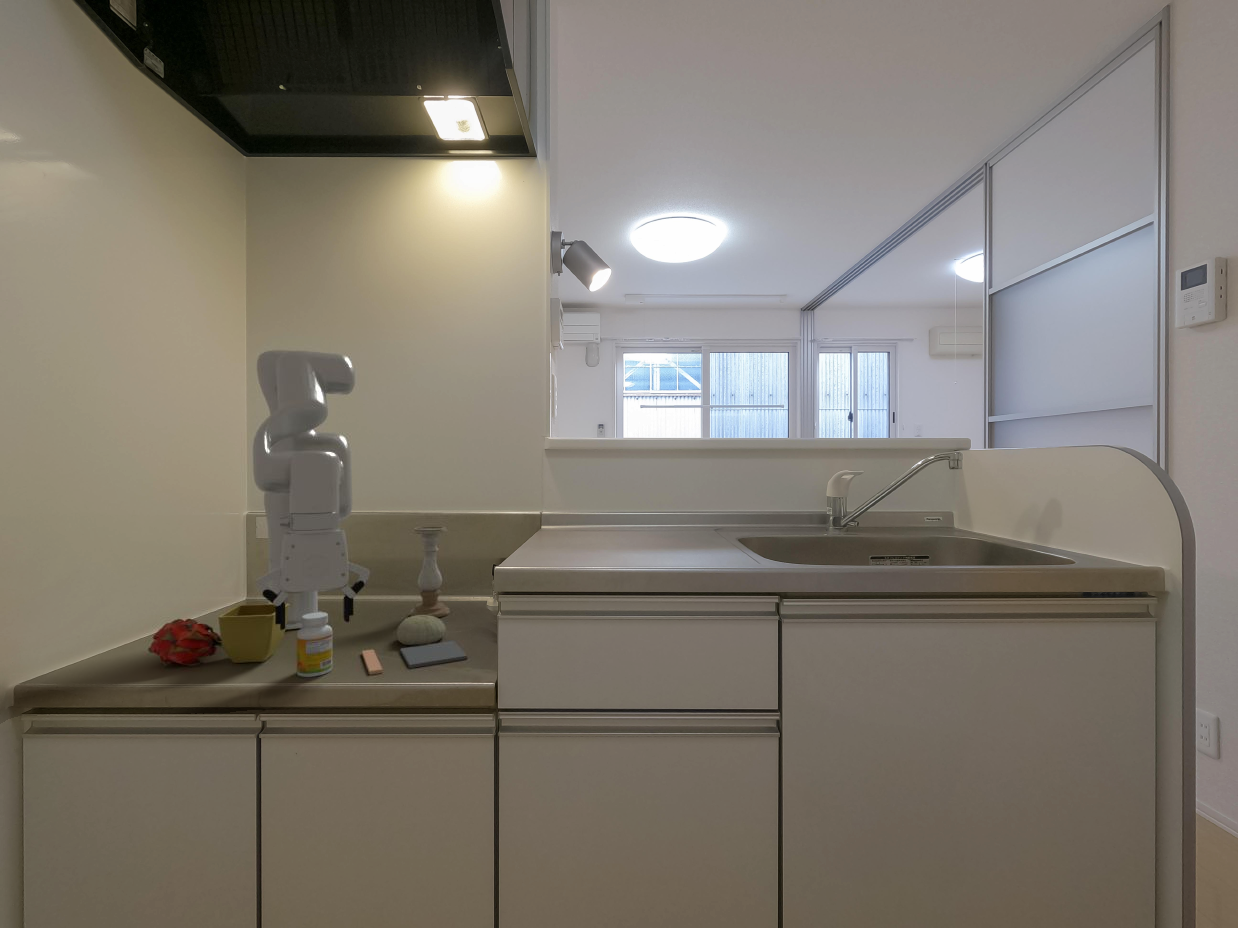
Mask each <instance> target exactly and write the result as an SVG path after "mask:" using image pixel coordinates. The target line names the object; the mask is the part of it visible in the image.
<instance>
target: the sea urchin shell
mask: <svg viewBox="0 0 1238 928" xmlns="http://www.w3.org/2000/svg"><path fill="white" fill-rule="evenodd" d="M446 630H447V629H446V625H445V624H444V622H443V621H442V620H441V619H440V618H439V617H437V618H436V617H434V616H429V615H417V616H412V617H411V616H409V617H407V618H405V619H403V620H402V622H401V623H400V624H399V625H398V626H397V629H396V638H397V640H398V642H400V643H402V644H403V645H404V646H422V645H428V644H434V643H437V642H438V641H440V640H441V639H443V637H444V636H445V634H446Z"/></svg>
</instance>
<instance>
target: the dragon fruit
mask: <svg viewBox="0 0 1238 928" xmlns="http://www.w3.org/2000/svg"><path fill="white" fill-rule="evenodd" d="M152 639H153V641H152V642H151V645H150V646H149V647H148V648H147V650H148V652H149V653H153V654H155V655H157V656H159V658H160V661H161V662H162V664H163V665H164V666H165V667H167V666H169V665H170V664H171V663H172V664H173V663H177V664H181V665H183V666H187V667H195V666H198V665H200V664H204V662H203V661H201V660H200V661H199V660H198V659H200V658H203V657H204V658H205V657H212V656H214V655H215V654H216V652H217V651H218V647H216V646H219V647H222V640H221V636H220V635H218V633H217V632H214V628H213V627H212V626H211V625H208V624H207V623H198V621H197V620H196V619H192V618H186V619H185V620H184V619H180V618H177V619H175V620H173V621H171V622H167V623H165V624H164V625H163V626H162V627H161V628H160V629H158V631H157V632H156V633H154V635H153V637H152ZM196 660H198V661H196Z"/></svg>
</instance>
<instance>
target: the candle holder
mask: <svg viewBox="0 0 1238 928" xmlns="http://www.w3.org/2000/svg"><path fill="white" fill-rule="evenodd" d="M447 531H448V529H447V527H446V526H433V525H432V526H431V525H430V526H420V527H419V526H417V527H414V528H413V530H412V532H413V534H417V535H420V539H421V540H422V542H423V547H422V548H421V552H422V553H423V565H422V568H421V571H420V573H419V576H418V578H417V584H418V587H420V588H421V591H419V593H418V594H419V596H421V602H420V603H418V604H416V605H414V606H415V607H414V608H413V609H411V610H410V612H409V613H410V614H409V615H410V617H412V616H417V615H429V616H434V617H436V618H441V617H444V616H447V615H448V614H449V613H450V608H449V607H448V606H446V604H445V603H444V602H440V601H439V600H438V599H439V597H440V594H441V592H442V591H441V590H440V589H439V587H440V586H441V585H442V583H443V576H442V574H441V571H440V570H439V567H438V563H437V552H439V548H438V546H437V542H438V540H439V539H440V534H443V533H447Z"/></svg>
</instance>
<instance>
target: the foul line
mask: <svg viewBox="0 0 1238 928" xmlns="http://www.w3.org/2000/svg"><path fill="white" fill-rule="evenodd" d="M361 655H362V657H363V658H362V659H363V662H364V664H365V666H366V670H367V672H368V674H369V675H377V674H383V667H382V665H381V663H380V661H379V659H378V656H377V654H376V652H375V650H374V648H373V649H366V650H361Z"/></svg>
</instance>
